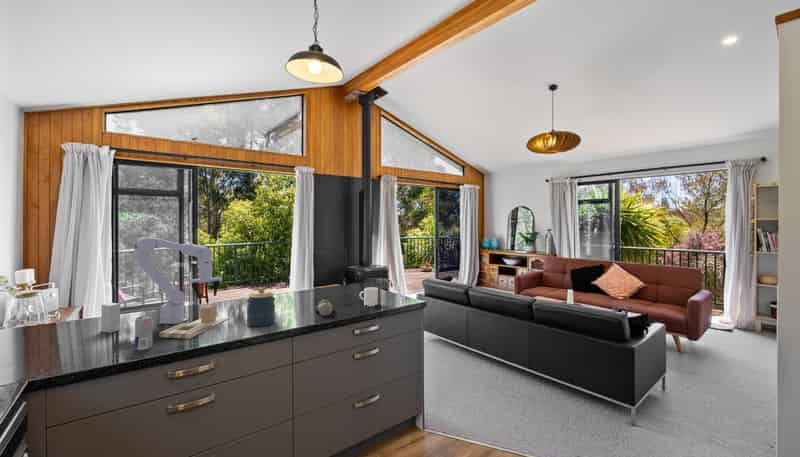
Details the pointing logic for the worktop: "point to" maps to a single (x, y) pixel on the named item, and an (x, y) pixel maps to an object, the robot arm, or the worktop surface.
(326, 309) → the ceramic sculpture
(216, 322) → the sage mat
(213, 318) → the peg
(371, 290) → the mug
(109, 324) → the skincare box
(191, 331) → the socket block
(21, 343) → the worktop surface
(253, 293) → the canister
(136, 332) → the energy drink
